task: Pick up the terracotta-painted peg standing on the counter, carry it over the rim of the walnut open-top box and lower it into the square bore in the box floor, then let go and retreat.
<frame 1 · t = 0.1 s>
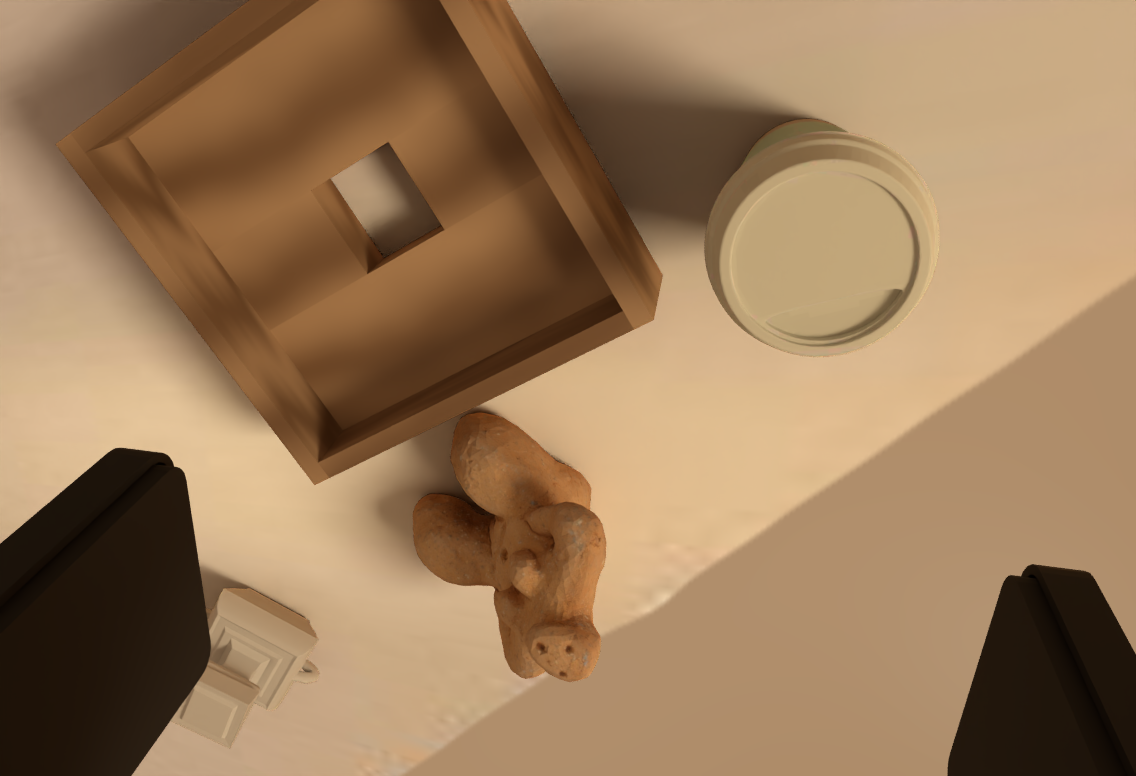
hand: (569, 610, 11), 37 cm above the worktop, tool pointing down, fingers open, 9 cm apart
stamp: (271, 620, 63), on the worktop
figurine: (530, 490, 55), on the worktop
bore box: (393, 196, 48), on the worktop
coffee cup: (802, 180, 45), on the worktop
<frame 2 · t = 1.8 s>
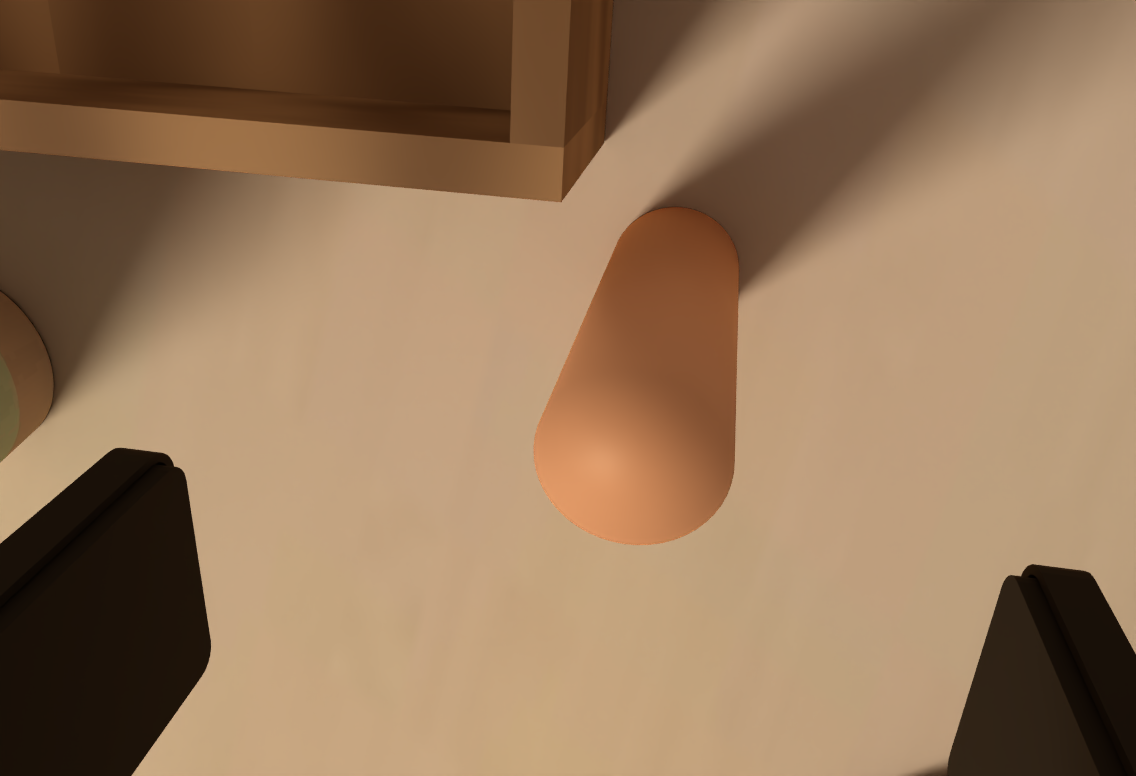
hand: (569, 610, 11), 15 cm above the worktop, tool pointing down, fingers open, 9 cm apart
peg: (674, 269, 24), on the worktop
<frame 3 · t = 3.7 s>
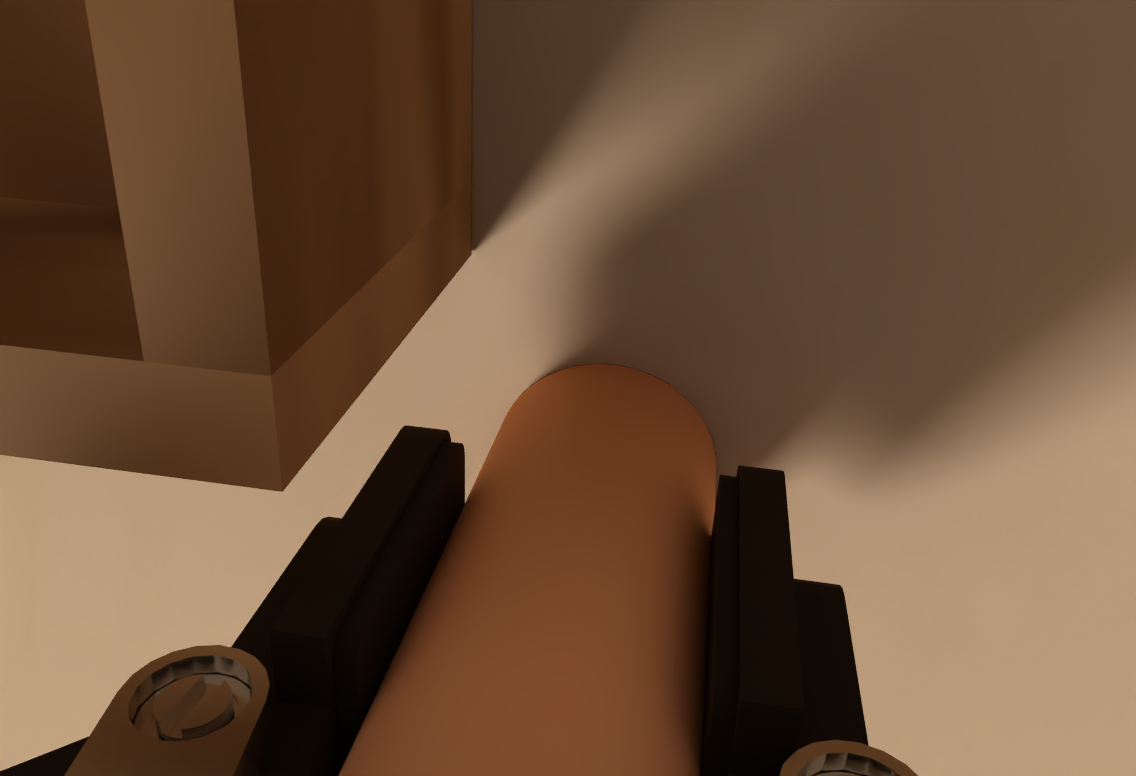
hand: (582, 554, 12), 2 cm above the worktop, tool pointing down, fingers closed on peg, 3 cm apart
peg: (604, 464, 14), on the worktop, touching gripper
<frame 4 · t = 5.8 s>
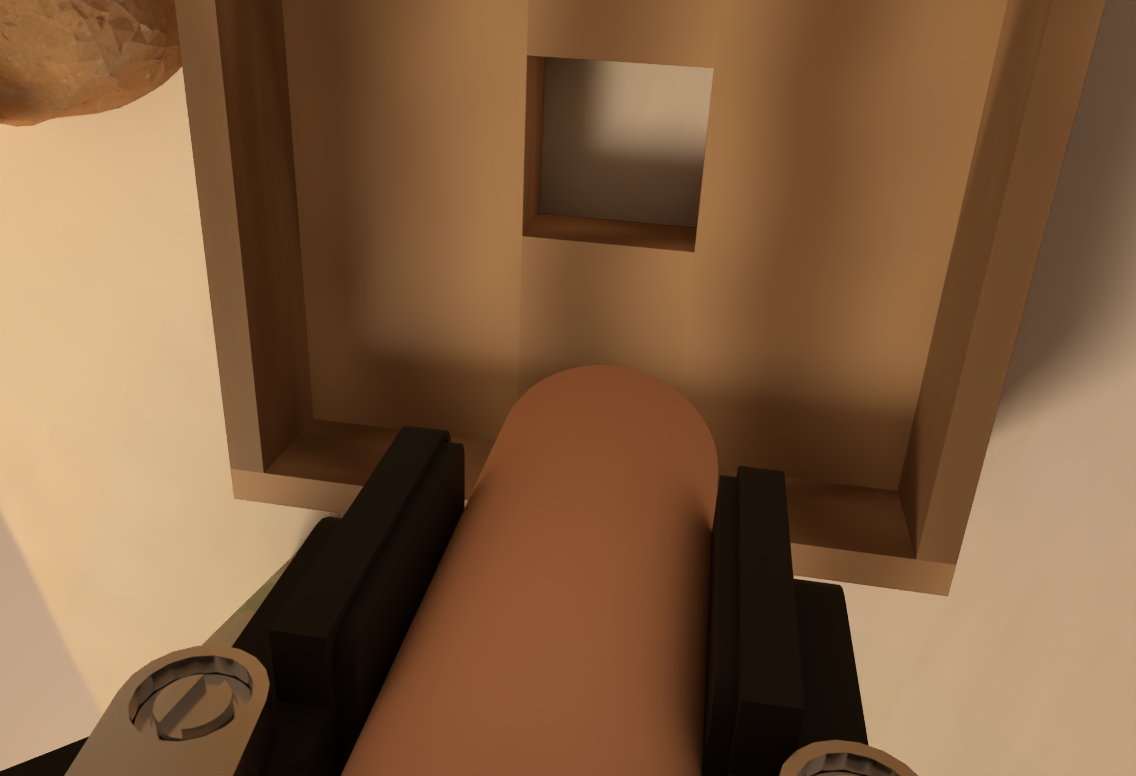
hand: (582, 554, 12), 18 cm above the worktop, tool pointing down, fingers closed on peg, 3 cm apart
peg: (606, 465, 14), point 16 cm above the worktop, touching gripper
bore box: (623, 139, 28), on the worktop
coffee cup: (358, 596, 37), on the worktop
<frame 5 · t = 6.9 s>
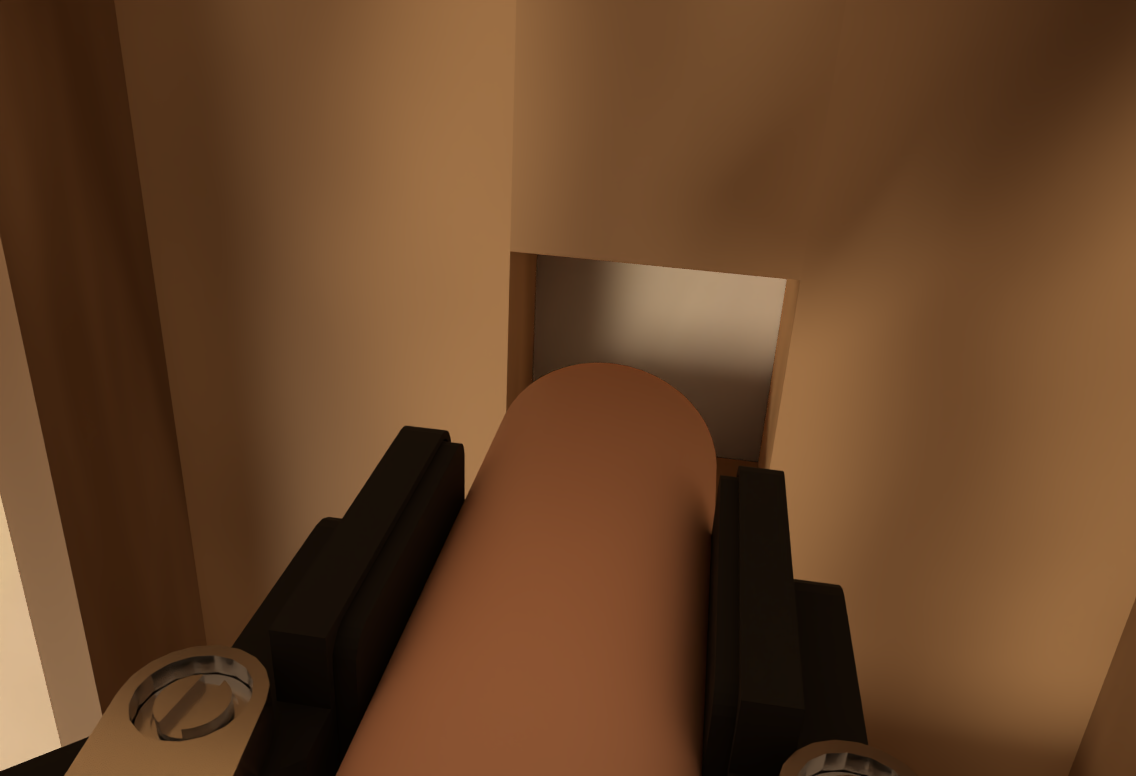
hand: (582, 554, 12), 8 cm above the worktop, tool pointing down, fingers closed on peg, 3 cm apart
peg: (604, 463, 14), point 6 cm above the worktop, touching gripper
bore box: (652, 342, 19), on the worktop
when the fingers open (4 cm above the worktop, at t = 7.9 s): peg drops 2 cm, resting in bore box.
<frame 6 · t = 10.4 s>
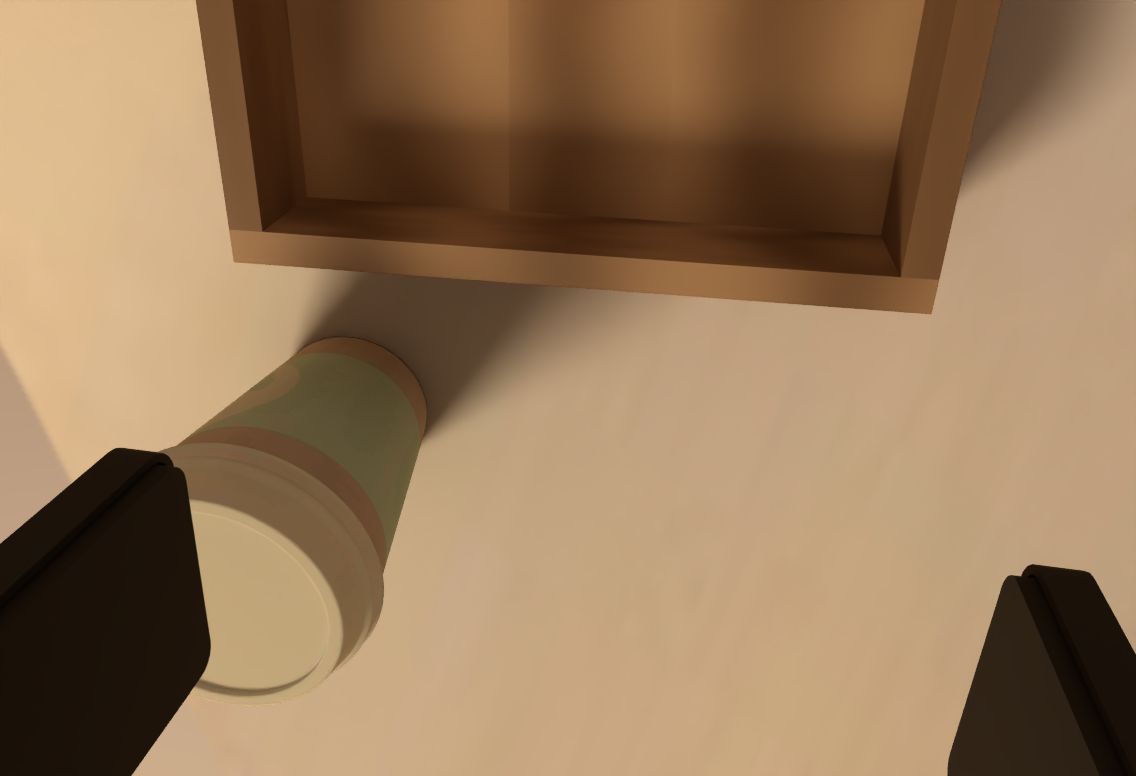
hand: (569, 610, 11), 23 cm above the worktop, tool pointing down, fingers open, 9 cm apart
coffee cup: (356, 401, 37), on the worktop
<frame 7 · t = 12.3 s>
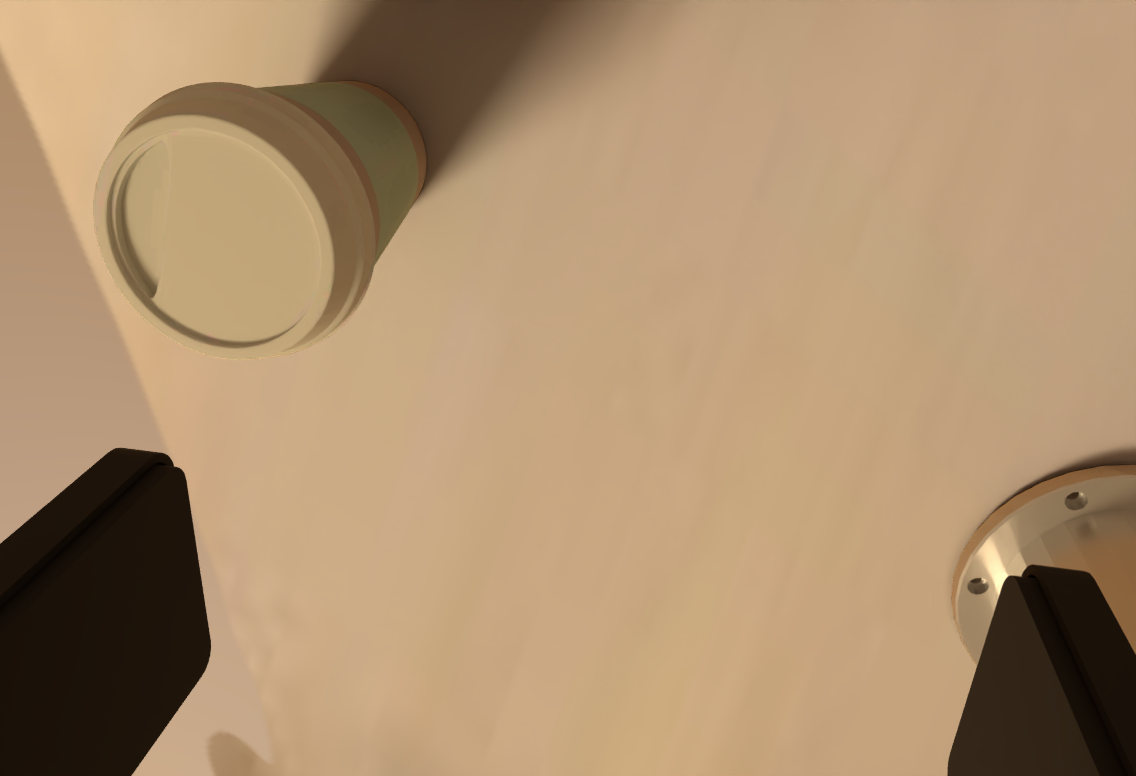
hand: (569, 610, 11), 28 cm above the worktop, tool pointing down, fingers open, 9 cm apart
coffee cup: (358, 154, 39), on the worktop
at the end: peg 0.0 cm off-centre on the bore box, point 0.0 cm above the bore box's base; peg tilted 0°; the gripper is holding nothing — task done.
